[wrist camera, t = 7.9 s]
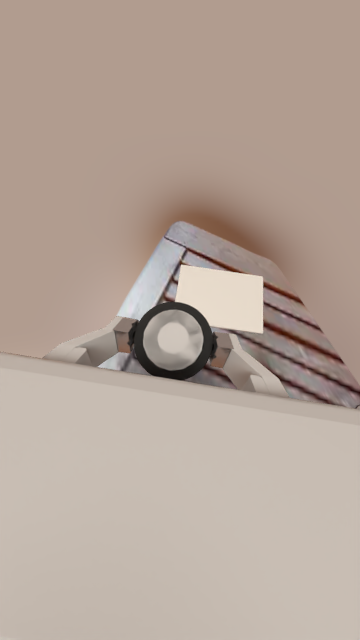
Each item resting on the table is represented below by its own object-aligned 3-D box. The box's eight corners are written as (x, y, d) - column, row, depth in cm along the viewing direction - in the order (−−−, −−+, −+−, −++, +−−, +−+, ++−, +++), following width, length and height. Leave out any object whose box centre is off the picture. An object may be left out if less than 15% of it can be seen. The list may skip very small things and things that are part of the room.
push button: (195, 316, 19) (216, 280, 9) (210, 353, 18) (251, 357, 8) (150, 332, 18) (118, 311, 8) (162, 371, 17) (143, 400, 7)
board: (259, 279, 34) (262, 276, 32) (259, 334, 30) (262, 333, 29) (181, 267, 34) (181, 264, 33) (172, 321, 30) (172, 320, 29)
